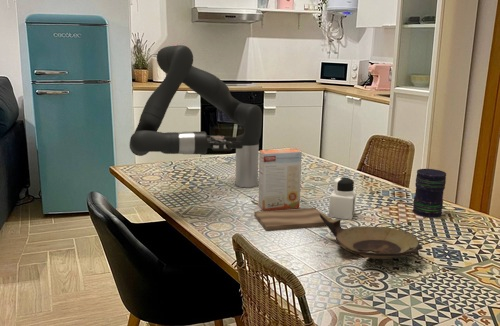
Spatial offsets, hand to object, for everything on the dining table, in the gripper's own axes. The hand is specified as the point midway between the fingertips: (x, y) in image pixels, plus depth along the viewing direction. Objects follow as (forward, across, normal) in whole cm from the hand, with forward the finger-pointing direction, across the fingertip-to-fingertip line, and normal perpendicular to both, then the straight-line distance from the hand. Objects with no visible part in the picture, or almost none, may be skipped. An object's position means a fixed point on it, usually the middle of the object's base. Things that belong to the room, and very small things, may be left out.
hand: (239, 142), depth 169 cm
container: (+34, -12, +24) cm, 43 cm away
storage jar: (+65, -16, +23) cm, 71 cm away
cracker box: (+15, 0, +24) cm, 29 cm away
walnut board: (+15, -14, +24) cm, 32 cm away
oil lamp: (+29, -41, +24) cm, 56 cm away
